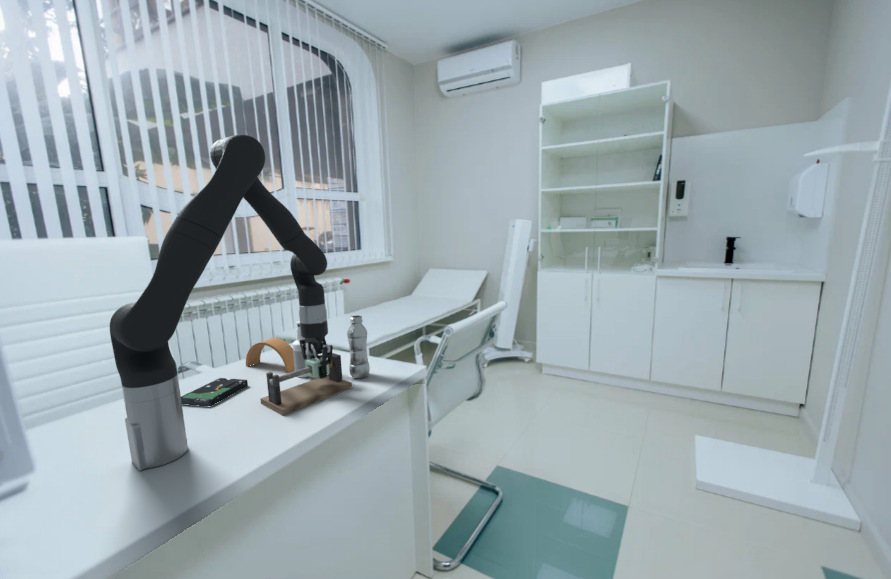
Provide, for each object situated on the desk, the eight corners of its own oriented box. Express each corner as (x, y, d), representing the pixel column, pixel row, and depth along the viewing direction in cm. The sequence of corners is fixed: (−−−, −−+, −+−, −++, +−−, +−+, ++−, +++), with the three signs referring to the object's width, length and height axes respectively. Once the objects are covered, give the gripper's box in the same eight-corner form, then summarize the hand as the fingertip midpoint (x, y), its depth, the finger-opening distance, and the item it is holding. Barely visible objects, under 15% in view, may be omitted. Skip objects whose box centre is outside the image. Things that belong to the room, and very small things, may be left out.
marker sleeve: (314, 378, 109) (313, 363, 108) (306, 374, 112) (305, 360, 111) (329, 372, 113) (328, 358, 112) (321, 369, 116) (320, 356, 115)
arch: (287, 373, 129) (285, 345, 127) (245, 367, 136) (242, 340, 135) (300, 368, 134) (298, 340, 132) (259, 361, 142) (256, 335, 140)
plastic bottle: (372, 372, 127) (369, 314, 124) (366, 380, 120) (362, 319, 117) (353, 372, 127) (350, 314, 124) (346, 380, 121) (342, 319, 118)
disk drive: (220, 386, 121) (179, 406, 107) (219, 377, 121) (178, 396, 106) (249, 387, 119) (211, 409, 104) (248, 379, 118) (209, 399, 104)
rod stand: (283, 415, 98) (279, 380, 97) (260, 403, 106) (257, 370, 104) (352, 387, 115) (350, 357, 114) (328, 378, 123) (326, 350, 121)
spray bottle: (290, 377, 125) (285, 323, 122) (304, 369, 132) (299, 319, 129) (308, 378, 123) (303, 324, 120) (321, 371, 130) (316, 319, 127)
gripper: (288, 319, 112) (293, 374, 114) (316, 325, 103) (320, 385, 105) (311, 314, 117) (315, 367, 120) (339, 319, 108) (343, 377, 111)
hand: (318, 375), depth 112 cm, fingers open, 4 cm apart
